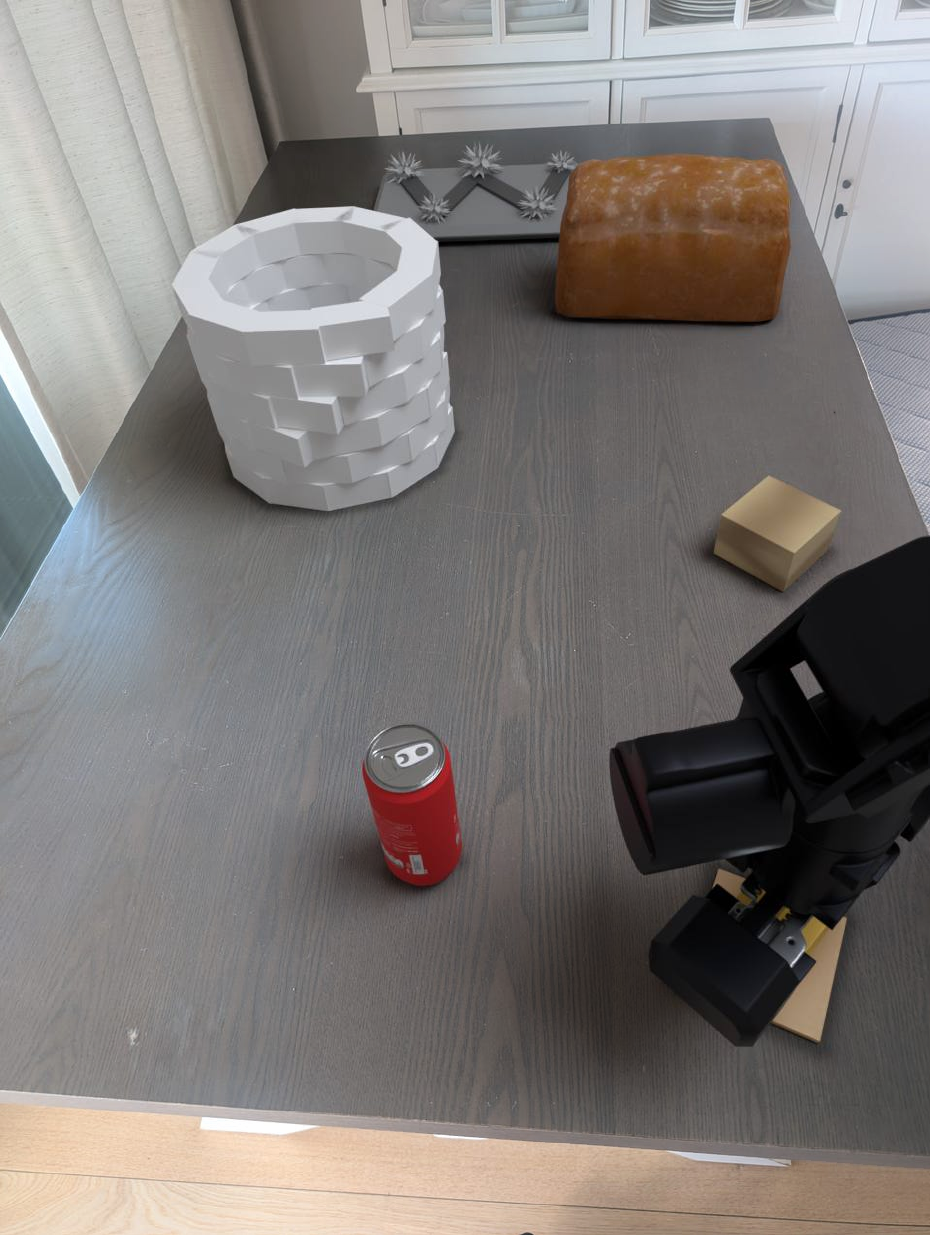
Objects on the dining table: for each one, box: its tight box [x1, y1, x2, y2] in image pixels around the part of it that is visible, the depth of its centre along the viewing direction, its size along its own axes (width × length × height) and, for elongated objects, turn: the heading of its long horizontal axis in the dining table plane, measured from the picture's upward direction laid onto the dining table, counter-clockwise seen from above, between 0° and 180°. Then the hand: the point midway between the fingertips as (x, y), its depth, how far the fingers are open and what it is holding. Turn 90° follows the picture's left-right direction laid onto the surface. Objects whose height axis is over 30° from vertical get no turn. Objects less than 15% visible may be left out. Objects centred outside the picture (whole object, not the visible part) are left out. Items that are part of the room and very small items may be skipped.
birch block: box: [713, 475, 842, 593], centre depth 76 cm, size 7×7×4 cm
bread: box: [554, 153, 792, 323], centre depth 102 cm, size 14×26×16 cm, turn 81°
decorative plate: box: [372, 140, 580, 243], centre depth 125 cm, size 30×22×7 cm
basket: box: [170, 205, 456, 512], centre depth 86 cm, size 25×24×19 cm
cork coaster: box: [712, 868, 848, 1044], centre depth 54 cm, size 8×8×1 cm
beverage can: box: [361, 722, 463, 887], centre depth 56 cm, size 5×5×12 cm
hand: (772, 936), depth 53 cm, fingers closed on mustard cube, 4 cm apart
